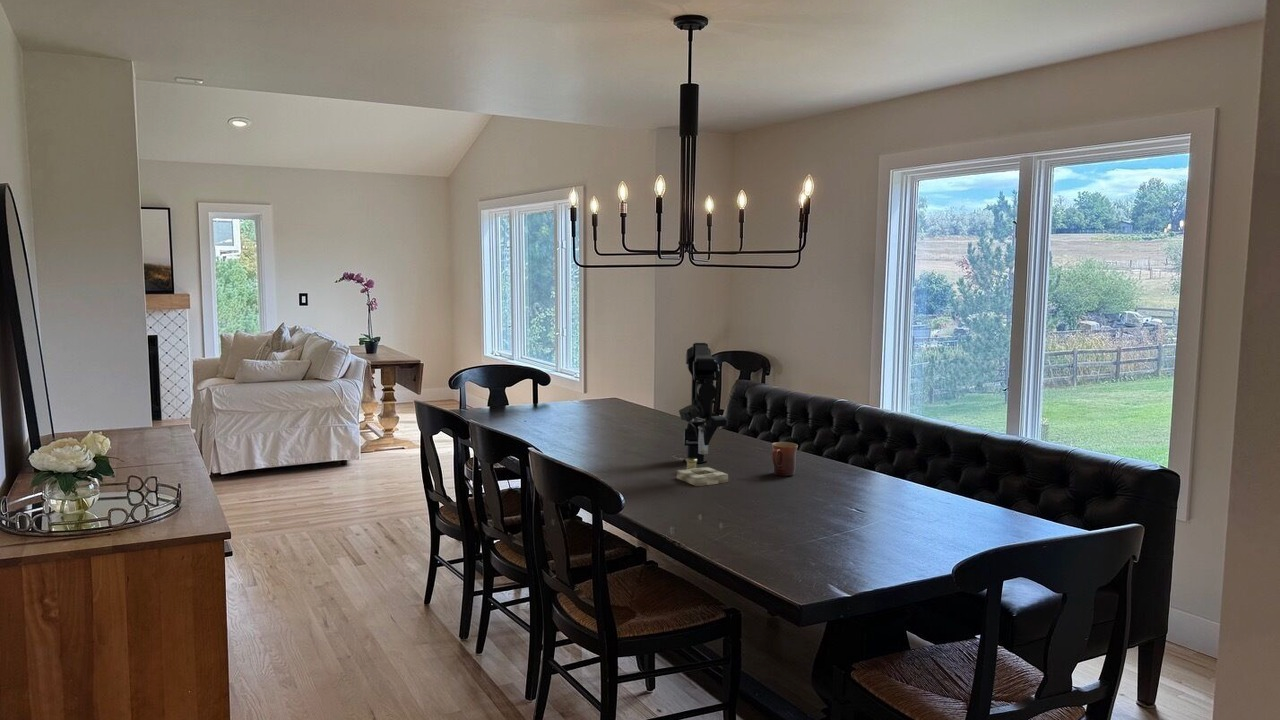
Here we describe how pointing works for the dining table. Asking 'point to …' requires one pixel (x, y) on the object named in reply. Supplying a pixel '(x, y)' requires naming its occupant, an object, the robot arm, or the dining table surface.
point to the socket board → (702, 476)
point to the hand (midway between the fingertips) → (703, 444)
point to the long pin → (701, 442)
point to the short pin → (691, 463)
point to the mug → (784, 458)
